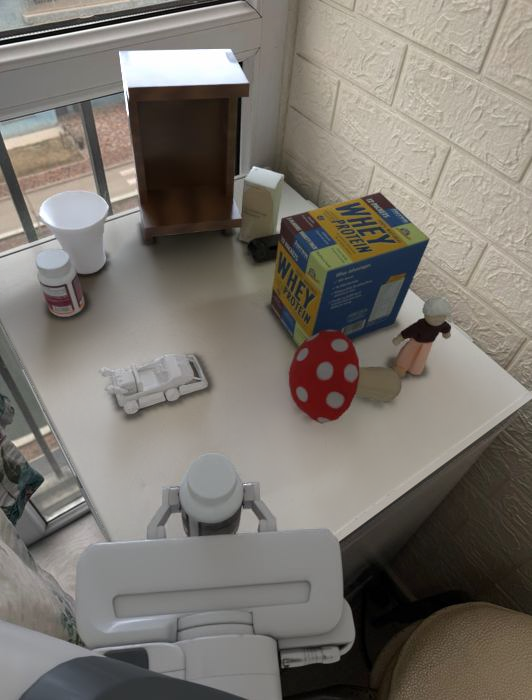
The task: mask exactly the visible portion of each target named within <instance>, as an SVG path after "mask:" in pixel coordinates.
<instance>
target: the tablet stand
mask: <svg viewBox="0 0 532 700" xmlns="http://www.w3.org/2000/svg"><path fill="white" fill-rule="evenodd" d="M279 234H280V233H276V234H275V235H270V236H265V237H260V238H255V239H253V240H251V241H250V242H247V243H248V244H247V245H246V251H247V252H248V254H249V256H250V258H251V260H252V261H253V262H254V263H256V264H261V263H265V262H269V261H274V260H276V258H277V250H278V242H279Z"/></svg>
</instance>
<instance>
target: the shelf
mask: <svg viewBox="0 0 532 700" xmlns="http://www.w3.org/2000/svg"><path fill="white" fill-rule="evenodd" d="M118 52H119V53H118V54H119V62H120V69H121V76H122V84H123V92H124V100H125V109H126V114H127V115H126V117H127V123H128V131H129V139H130V147H131V154H132V162H133V168H134V169H133V171H134V177H135V178H134V179H135V184H136V193H137V199H138V200H137V201H138V208H139V215H140V216H139V217H140V222H141V223H140V224H141V230H142V233H143V239H144V243H145V244H146V243H153V242H154V240H153V237H160V236H161V237H163V236H170V235H182V234H191V233H200V232H210V231H211V232H212V231H220V230H223V233H224V235H232V234H233V229H240V228H241V227H242V217H241V212H240V209H239V207H238V204H237V202H236V199H235V197H234V196H235V169H236V148H237V147H236V145H237V118H238V98H249V97H250V87H251V86H250V85H251V83H250V82H249V79H248V78H247V76H246V74H245V73H244V71H243V69H242V67H241V65H240V64H239V62H238V59H237V58H236V56H235V54H234V52H233V50H232V49H231V48H210V49H209V48H208V49H205V48H203V49H156V50H154V49H153V50H152V49H151V50H119V51H118Z"/></svg>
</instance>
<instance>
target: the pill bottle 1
mask: <svg viewBox="0 0 532 700" xmlns="http://www.w3.org/2000/svg"><path fill="white" fill-rule="evenodd" d="M35 257H36V258H35V261H34V262H35V266H36V268H37V274H36V275H37V277H36V278H37V280H38V283H39V286H40V289H41V290H42V294H43V296H44V299H45V301H46V304H47V307H48V309H49V311H50V312H51V313H52V314H53V315H55V316H57V317H63V318H67V317H72V316H74V315H77V314H78V313H80V312H81V311H82V310H83V308H84V306H85V297H84V293H83V290H82V287H81V283H80V279H79V275H78V273H77V272H76V269H75V267H74V265H73V264H72V263H71V261H70V258H69V255H68V253H67V252H66V251H64V250H63V249H62V248H61V249H60V248H58V247H57V248H55V247H53V248H47V249H44V250H43V251H41V252H39V253H38V254H37V256H35Z"/></svg>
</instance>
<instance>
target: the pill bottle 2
mask: <svg viewBox="0 0 532 700" xmlns="http://www.w3.org/2000/svg"><path fill="white" fill-rule="evenodd" d="M243 483H244V482H243V481H242V478H241V476H240V474H239V473H238V471H237V468H236V466H235V464H234V462H233V461H232V460H231V459H230V458H229V457H228V456H226V455H224V454H222V453H218V452H208V453H204V454H201V455H199V456H197V457H196V458H195V459H194V460H193V461H192V462H191V464H190V465H189V467H188V469H187V472H186V473H185V474H184V476H183V477H182V479H181V482H180V485H179V486H180V490H179V499H180V506H181V514H180V515H181V523H182V529H183V532H184V534H185V535H186V537H194V536H210V535H225V534H238V531H239V528H240V525H241V517H242V510H243V509H242V502H243V495H244V491H243Z"/></svg>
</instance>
